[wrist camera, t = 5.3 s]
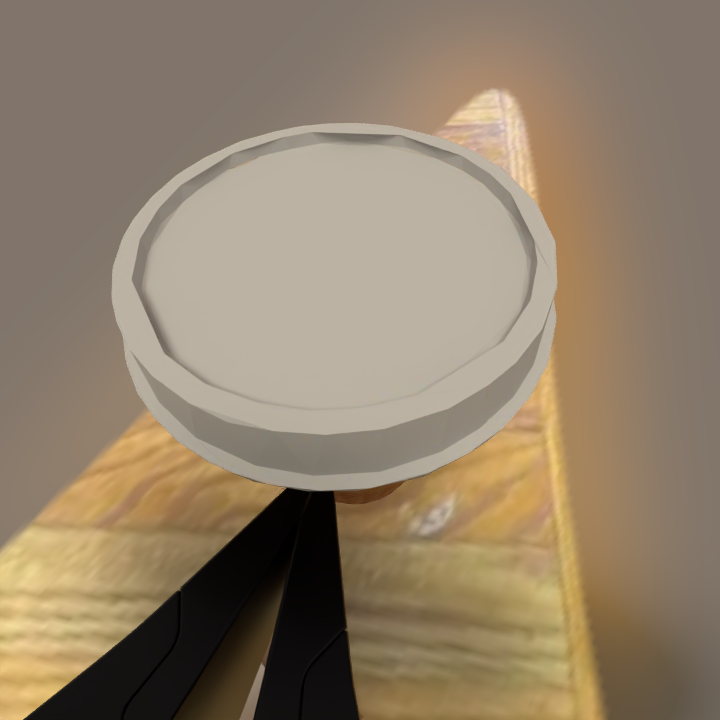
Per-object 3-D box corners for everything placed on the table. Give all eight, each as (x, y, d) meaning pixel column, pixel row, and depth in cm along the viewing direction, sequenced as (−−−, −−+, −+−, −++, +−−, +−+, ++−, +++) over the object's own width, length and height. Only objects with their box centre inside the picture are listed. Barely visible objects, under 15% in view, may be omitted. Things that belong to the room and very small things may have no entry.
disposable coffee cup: (487, 413, 18) (647, 191, 8) (380, 600, 14) (414, 654, 4) (337, 326, 21) (307, 82, 11) (213, 458, 17) (-21, 273, 7)
